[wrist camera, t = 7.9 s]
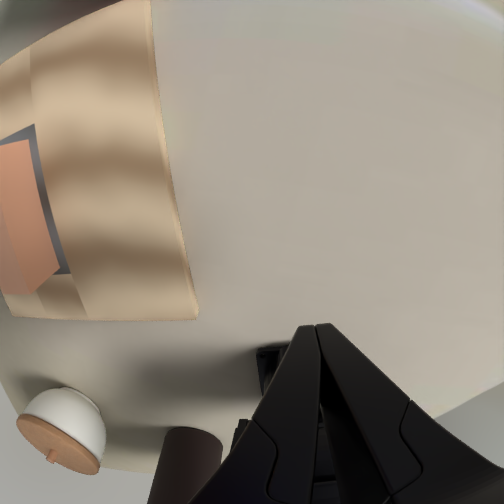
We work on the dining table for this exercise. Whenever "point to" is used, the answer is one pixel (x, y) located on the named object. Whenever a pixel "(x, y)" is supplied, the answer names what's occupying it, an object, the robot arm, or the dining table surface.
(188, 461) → the bottle
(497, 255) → the dining table surface
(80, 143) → the board
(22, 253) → the t block
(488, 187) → the dining table surface
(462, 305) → the dining table surface
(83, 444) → the lidded jar
